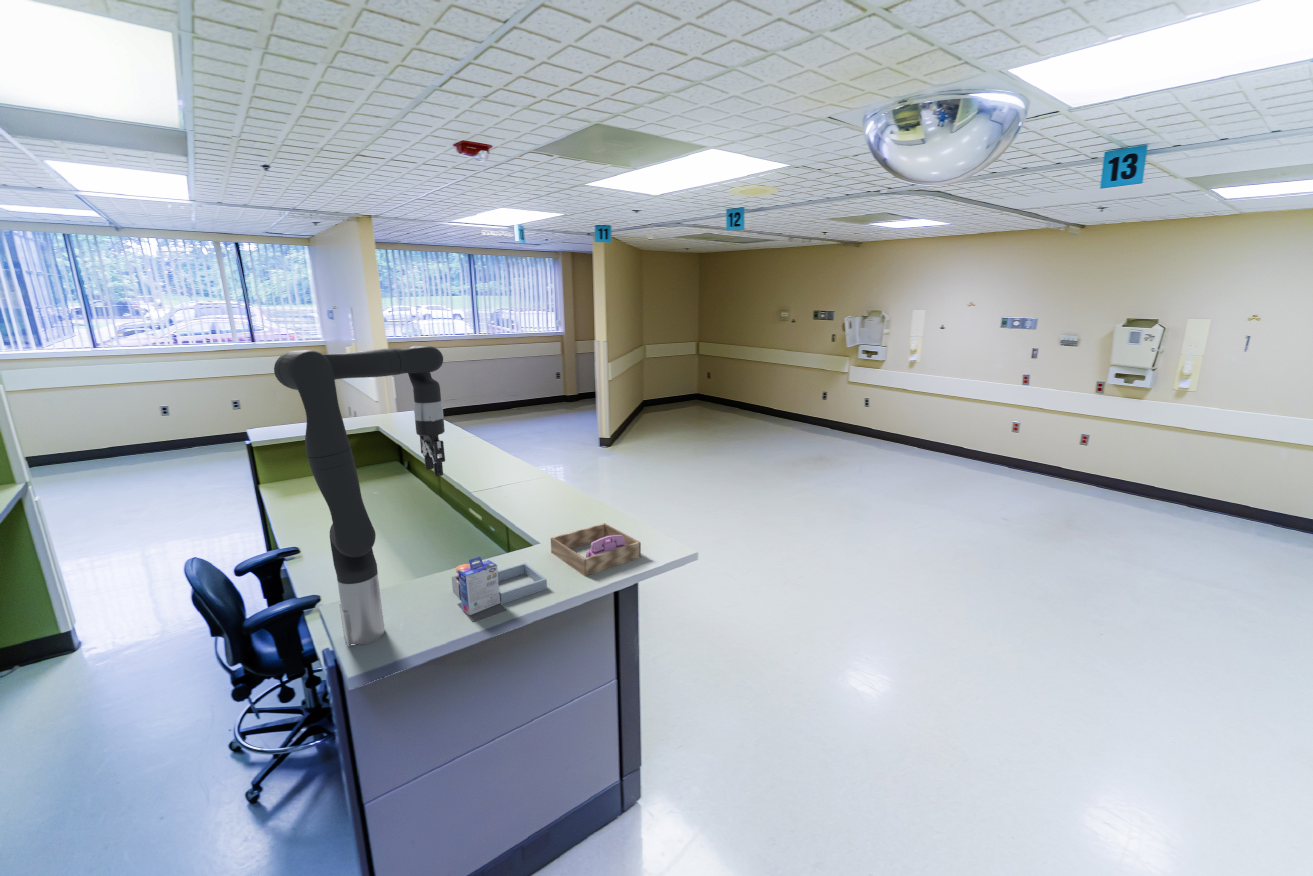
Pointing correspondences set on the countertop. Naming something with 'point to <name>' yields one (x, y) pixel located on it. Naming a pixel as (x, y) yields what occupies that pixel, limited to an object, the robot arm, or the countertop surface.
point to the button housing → (456, 586)
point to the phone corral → (596, 562)
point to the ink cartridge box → (479, 586)
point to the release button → (462, 567)
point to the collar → (525, 589)
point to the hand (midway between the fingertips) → (434, 472)
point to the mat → (485, 612)
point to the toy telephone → (606, 545)
